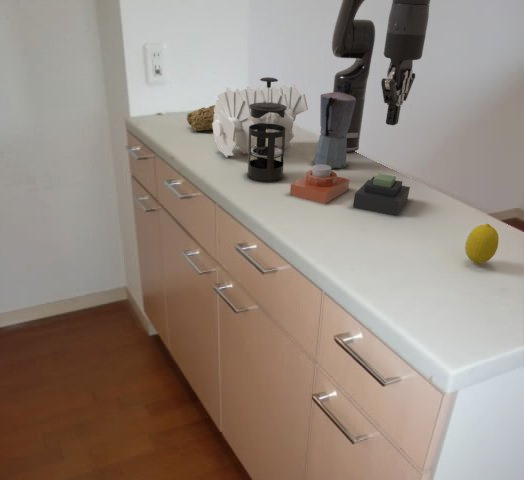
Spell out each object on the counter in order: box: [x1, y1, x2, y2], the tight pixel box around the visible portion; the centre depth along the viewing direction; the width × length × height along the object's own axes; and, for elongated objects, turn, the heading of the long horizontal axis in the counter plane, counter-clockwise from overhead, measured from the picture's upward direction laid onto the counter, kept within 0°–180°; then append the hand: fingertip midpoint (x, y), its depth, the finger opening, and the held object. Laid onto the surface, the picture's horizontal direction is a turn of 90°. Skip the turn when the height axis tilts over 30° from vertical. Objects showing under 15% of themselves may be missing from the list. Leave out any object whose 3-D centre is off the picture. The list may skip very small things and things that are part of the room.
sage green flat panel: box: [373, 173, 397, 188], centre depth 125 cm, size 4×4×2 cm
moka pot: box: [313, 85, 356, 169], centre depth 145 cm, size 10×15×20 cm, turn 161°
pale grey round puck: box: [311, 164, 332, 178], centre depth 130 cm, size 4×4×2 cm
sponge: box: [186, 104, 216, 132], centre depth 178 cm, size 13×8×20 cm
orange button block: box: [289, 169, 350, 205], centre depth 131 cm, size 12×10×4 cm
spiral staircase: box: [212, 83, 309, 159], centre depth 154 cm, size 18×18×25 cm
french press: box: [246, 76, 287, 184], centre depth 135 cm, size 12×9×23 cm
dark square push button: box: [352, 176, 411, 217], centre depth 126 cm, size 11×10×5 cm
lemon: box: [464, 223, 499, 265], centre depth 101 cm, size 6×6×8 cm
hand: (391, 124), depth 117 cm, fingers closed
